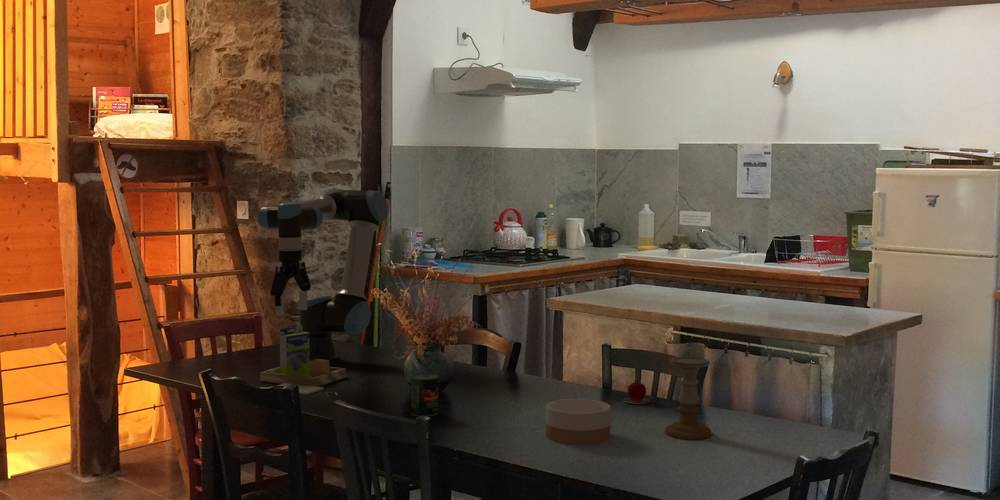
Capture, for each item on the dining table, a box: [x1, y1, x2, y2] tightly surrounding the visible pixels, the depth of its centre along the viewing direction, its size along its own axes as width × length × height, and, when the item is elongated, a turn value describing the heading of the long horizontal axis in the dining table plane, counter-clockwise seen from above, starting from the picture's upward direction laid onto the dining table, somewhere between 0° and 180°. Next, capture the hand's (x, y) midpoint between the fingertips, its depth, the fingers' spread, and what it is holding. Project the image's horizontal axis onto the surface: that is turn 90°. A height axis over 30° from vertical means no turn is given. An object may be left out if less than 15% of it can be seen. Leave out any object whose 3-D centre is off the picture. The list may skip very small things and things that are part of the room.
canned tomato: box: [410, 373, 439, 417], centre depth 298 cm, size 8×8×11 cm
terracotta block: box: [309, 359, 330, 377], centre depth 343 cm, size 4×5×7 cm
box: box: [279, 325, 310, 377], centre depth 347 cm, size 10×4×17 cm, turn 142°
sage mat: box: [277, 383, 324, 396], centre depth 330 cm, size 9×15×1 cm, turn 65°
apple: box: [623, 382, 650, 405], centre depth 314 cm, size 8×8×6 cm
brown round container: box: [545, 398, 612, 446], centre depth 274 cm, size 17×17×8 cm
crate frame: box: [259, 366, 347, 387], centre depth 346 cm, size 18×22×3 cm
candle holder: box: [664, 356, 712, 440], centre depth 276 cm, size 12×12×20 cm
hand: (291, 312), depth 344 cm, fingers open, 13 cm apart
